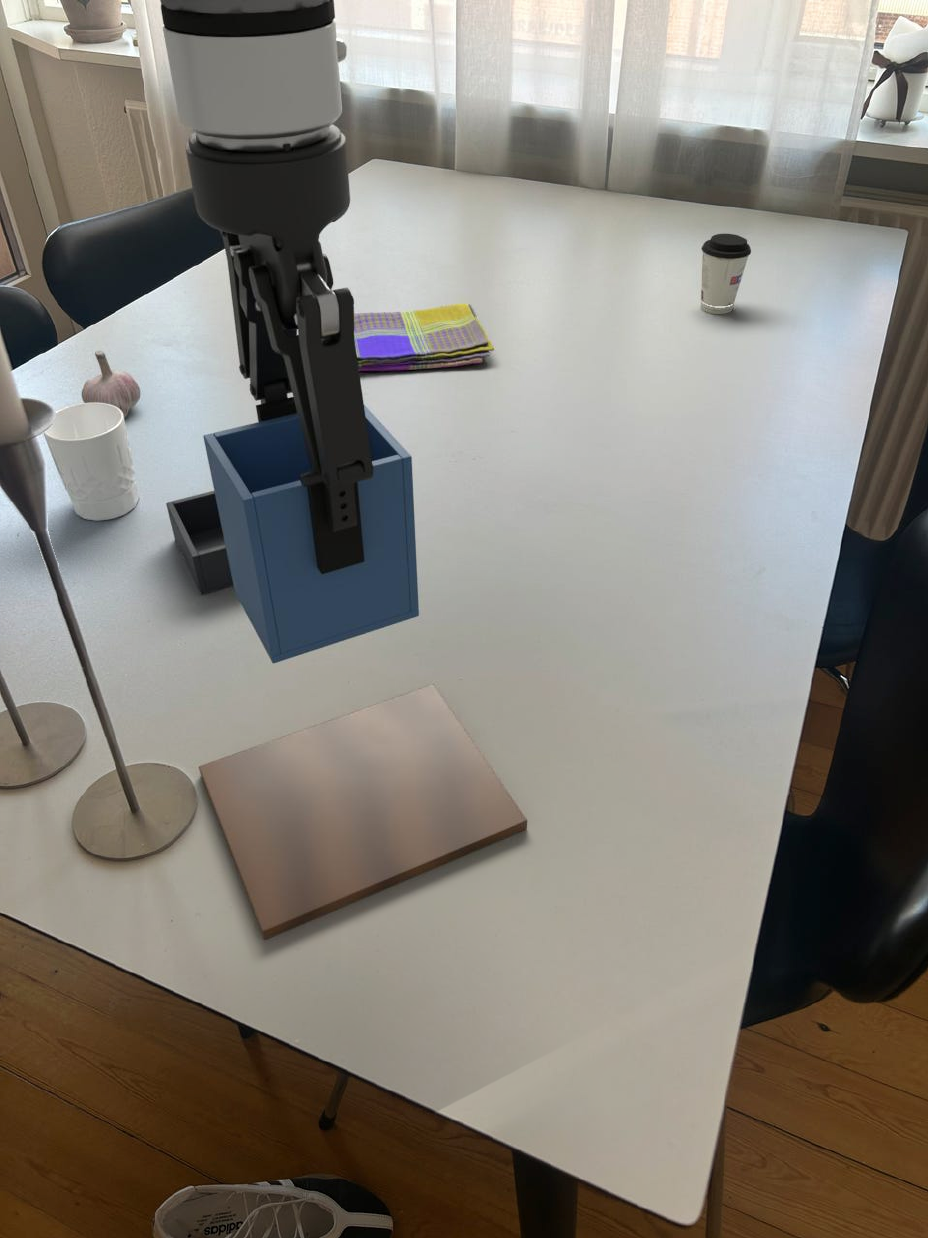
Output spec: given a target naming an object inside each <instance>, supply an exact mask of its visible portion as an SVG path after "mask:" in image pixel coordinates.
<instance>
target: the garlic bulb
mask: <svg viewBox="0 0 928 1238" xmlns="http://www.w3.org/2000/svg"><path fill="white" fill-rule="evenodd" d="M94 356H95V358H96V360H97V363H98V365H99V369H100V373H101V374H98V375H96V376H95V377H94V378H92V379H88V380H87V381H85V382H84V384H83V387H82V390H81V399H82V401H83V403H106V404H110V405H113V406H116V407H117V408H119V409H120V410H121V411H122V413H123V416H124V419H125V418H126V417H127V416H128V414H129V410H130V409H131V408H133V407H134V406H136V405H137V404H138V403H139V400H140V399H141V388H140V386H139V384H138V382H136V380H135V378H134V377H133V376H132V375H131V374H130V373H129V372H127V371H123V370H112V369H111V367H110V364H109V361H108V358H107V357H106V353H105V352H104V351H102V350H95V352H94Z"/></svg>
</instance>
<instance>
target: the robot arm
mask: <svg viewBox="0 0 928 1238" xmlns="http://www.w3.org/2000/svg"><path fill="white" fill-rule="evenodd" d="M159 2H160V11H161V18H162V33H163V37H164V43H165V48H166V54H167V58H168V65H169V70H170V77H171V81H172V86H173V87H172V88H173V92H174V98H175V103H176V109H177V115H178V119H179V122H180V124H182V125H183V126H184V127H185V128H186V129H188V130H189V131H191V132H192V133H191V135H190V136H189V137H188V141H187V142H186V143H185V145H184V148H185V153H186V159H187V165H188V171H189V177H190V181H191V187H192V188H191V189H192V194H193V199H194V204H195V209H196V212H197V215H198V217H199V218H200V219H201V220H202V221H203V222H204V223H205V224H206V225H208V226H209V227H211V228H213V229H215V230H218V231H219V232H220V235H221V237H222V241H223V246H224V252H225V256H226V262H227V269H228V270H227V271H228V278H229V286H230V294H231V303H232V310H233V311H232V312H233V320H234V326H235V336H236V344H237V352H238V363H239V366H238V368H239V372H240V374H241V375H242V376H243V378H244V380H246V379H249V391H250V395H251V396H252V397H253V399H254V400H255V401H256V402H257V401H260V404H255V409H256V415H257V422H262V421H266V420H270V419H274V418H279V417H283V416H287V415H291V414H296V413H297V414H298V418H299V422H300V426H301V430H302V434H303V438H304V442H305V446H306V451H307V455H308V459H309V463H310V467H311V469H310V472H306V473H304V474H301V475H299V479H300V481H301V484H302V485H303V486H304V487H306V486H307V491H308V499H309V507H310V515H311V522H312V530H313V538H314V545H315V553H316V561H317V568H318V569H319V571H320V572H321V574H325V573H328V572H332V571H335V570H338V569H342V568H345V567H348V566H352V565H355V564H358V563H362V562H365V561H364V549H363V538H362V527H361V516H360V505H359V494H358V483H357V482H358V481H362V480H366V479H369V478H372V477H373V464H372V459H371V452H370V445H369V438H368V431H367V424H366V417H365V410H364V405H365V404H364V403H365V402H364V397H363V389H362V383H361V375H360V371H359V367H358V360H357V353H356V346H355V339H354V313H355V300H354V296H353V295H352V292H351V290H350V289H349V288H348V287H341V288H337V289H333V286H334V277H333V272H332V269H331V264H330V260H329V258H328V256H327V254H326V253H323V249H322V244H321V241H320V235H321V233H322V231H323V230H324V229H325V228H327V226H328V225H330V224H331V223H335V222H337V221H338V220H340V219H341V218H342V217H343V216H345V214H346V213H347V211H348V209H349V207H350V204H351V191H350V179H349V178H350V177H349V167H348V151H347V140H346V136H345V134H344V133H343V132H341V129H340V128H339V127H338V126H336V125H335V124H334V123H335V122H336V121H337V120H338V119H339V118H340V117H341V115H343V114H342V113H343V102H342V89H341V76H340V67H339V63H340V62H342V61H344V60H346V58H347V52H348V51H347V50H348V49H347V47H348V46H347V44H346V43H345V41H344V40H343V39H342V38H339V37H337V27H336V24H337V23H336V12H335V10H336V9H335V1H334V0H159ZM332 289H333V290H332ZM288 394H292V396H291V397H289V396H288Z"/></svg>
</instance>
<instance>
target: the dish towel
mask: <svg viewBox="0 0 928 1238" xmlns="http://www.w3.org/2000/svg"><path fill="white" fill-rule="evenodd" d="M354 339H355V346H356V353H357V360H358V367H359V372H369V371H370V372H371V371H372V372H376V371H377V372H378V371H381V372H383V371H404V370H406V371H407V370H424V369H438V368H450V367H451V368H453V367H460V366H464V365H465V366H466V365H468V366H469V365H472V364H481V363H483V357H491V352H493V351H495V347H494V346H493V343H492V341H491V340H490V339H489V337H488V335H487V333H486V332H485V330H484V328H483V326H482V323H481V322H480V321H479V319H478V315H477V313H476V310H475V308H474V307H473V306H472V304H469V303H466V302H461V303H457V304H456V303H455V304H450V305H445V306H440V307H439V306H438V307H432V308H425V309H413V310H409V311H394V312H393V311H392V312H359V313H355V312H354Z"/></svg>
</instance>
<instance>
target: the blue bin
mask: <svg viewBox="0 0 928 1238" xmlns="http://www.w3.org/2000/svg"><path fill="white" fill-rule="evenodd" d="M364 410H365V417H366V424H367V431H368V438H369V445H370V452H371V459H372V464H373V477H372V478H369V479H366V480H362V481H358V482H357V483H358V494H359V505H360V516H361V527H362V538H363V549H364V561H365V562H362V563H358V564H355V565H352V566H348V567H345V568H342V569H338V570H335V571H332V572H328V573H325V574H321V572H320V571H319V569H318V568H317V561H316V553H315V545H314V538H313V530H312V522H311V515H310V507H309V499H308V491H307V486H306V487H304V486H303V485H302V484H301V481H300V479H299V475H301V474H304V473H306V472H310V469H311V467H310V463H309V459H308V455H307V451H306V446H305V442H304V438H303V434H302V430H301V426H300V422H299V418H298V414H297V413H296V414H291V415H287V416H283V417H279V418H274V419H270V420H266V421H262V422H258V421H257V422H253V423H250V424H245V425H241V426H236V427H232V428H229V429H224V430H220V431H215V432H212V433H207V434H204V435H203V437H202V438H203V442H204V446H205V447H204V448H205V452H206V457H207V462H208V466H209V471H210V476H211V482H212V486H213V487H212V488H213V491H214V492H215V496H216V501H217V506H218V511H219V516H220V521H221V526H222V531H223V536H224V541H225V546H226V550H227V555H228V560H229V565H230V570H231V575H232V580H233V585H234V586H233V589H234V594H235V595H236V597H237V599H238V601H239V603H240V605H241V607H242V608H243V610H244V612H245V614H246V616H247V618H248V619H249V622H250V624H251V625H252V627H253V629H254V631H255V633H256V635H257V637H258V638H259V641H260V642H261V644H262V646H263V648H264V650H265V652H266V653H267V655H268V657H269V659H270V661H271V663H272V664H273V665H274V664H276V663H279V662H283V661H286V660H289V659H292V658H295V657H298V656H301V655H304V654H307V653H311V652H312V651H316V650H319V649H323V648H326V647H329V646H332V645H335V644H338V643H341V642H344V641H347V640H350V639H353V638H356V637H359V636H362V635H366V634H368V633H371V632H374V631H377V630H380V629H383V628H386V627H389V626H393V625H395V624H399V623H401V622H402V623H403V622H406V621H407V620H411V619H414V618H418V617H419V616H420V607H419V587H418V586H419V584H418V564H417V546H416V545H417V541H416V520H415V499H414V478H413V476H414V475H413V456H412V455H411V454H410V453H409V452H408V450H406V448H405V447H404V446H403V445H402V444H401V443H400V442H399V441H398V440H397V439H396V437H394V435H393V434H392V433H391V432H390V431H389V429H387V427H386V426H385V425H384V424H382V422H381V421H380V420H379V419H378V418H377V417H376V416H375V414H373V413H372V411H371V410H370V409H369V408H368V407H367V406H366V404H364Z"/></svg>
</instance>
